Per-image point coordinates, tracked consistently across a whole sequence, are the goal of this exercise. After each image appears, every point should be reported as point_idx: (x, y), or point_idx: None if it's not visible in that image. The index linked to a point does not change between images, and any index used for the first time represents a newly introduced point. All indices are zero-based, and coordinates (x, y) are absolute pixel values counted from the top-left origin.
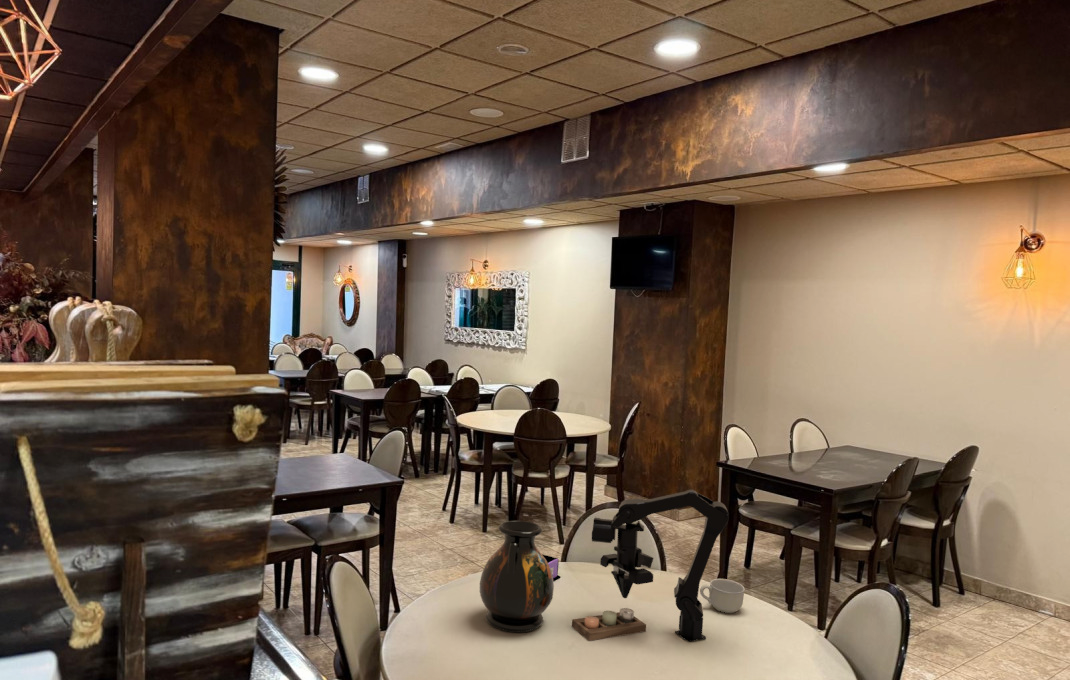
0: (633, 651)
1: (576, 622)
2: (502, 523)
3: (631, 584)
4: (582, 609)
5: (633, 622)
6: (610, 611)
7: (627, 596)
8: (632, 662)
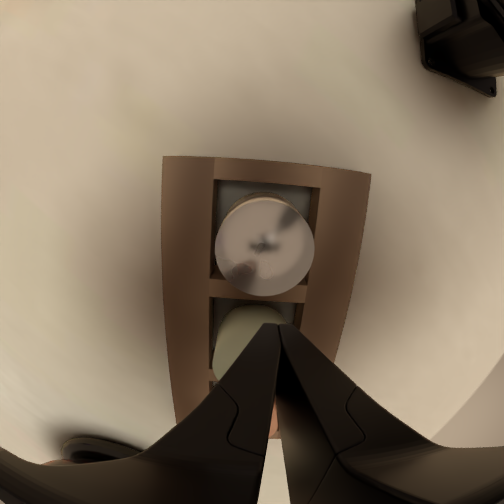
0: (439, 338)
1: None
2: None
3: (384, 428)
4: (50, 294)
5: (319, 226)
6: (231, 351)
7: (298, 331)
8: (464, 371)
